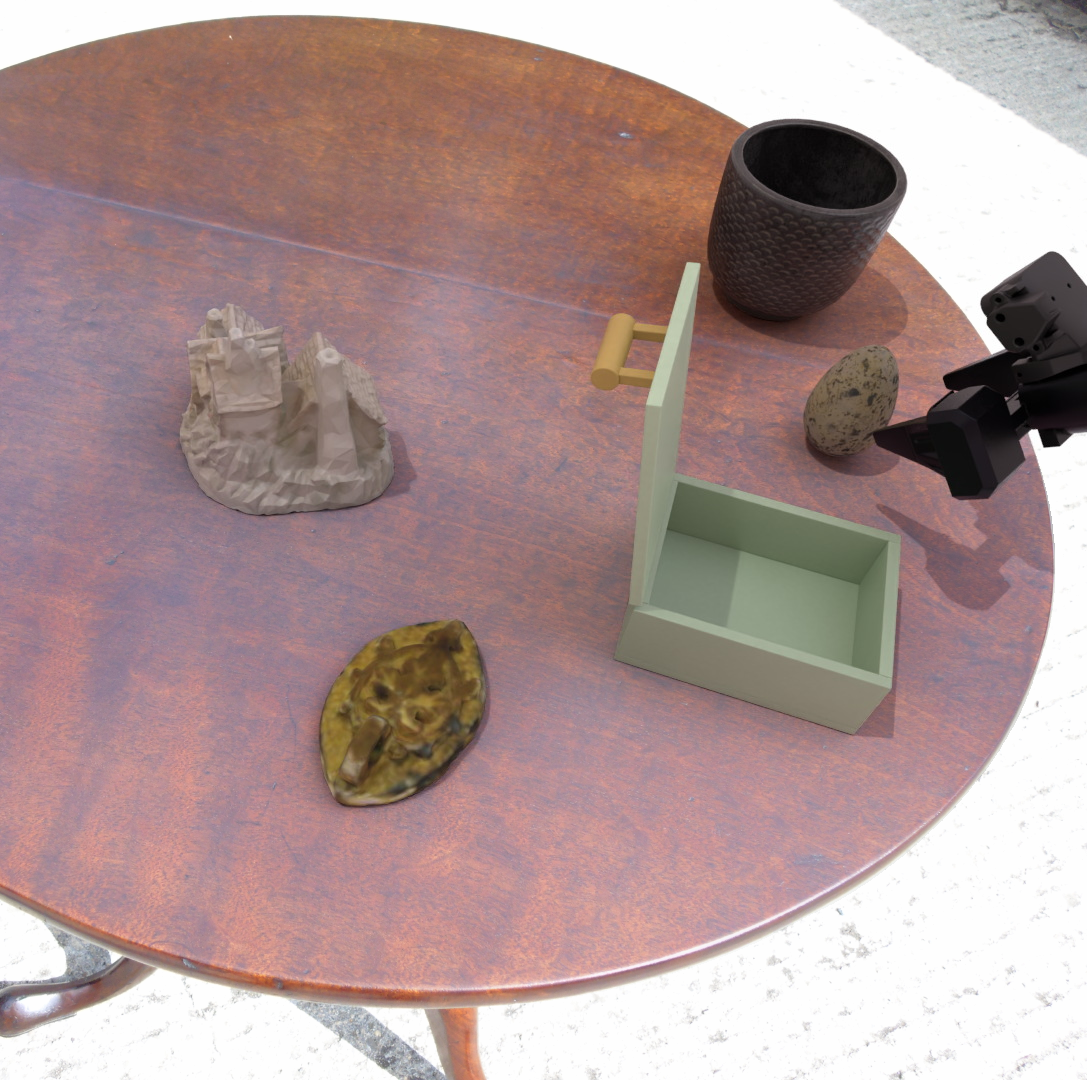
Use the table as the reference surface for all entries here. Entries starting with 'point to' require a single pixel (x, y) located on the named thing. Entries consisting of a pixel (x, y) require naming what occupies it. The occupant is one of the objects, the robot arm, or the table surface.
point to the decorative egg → (852, 401)
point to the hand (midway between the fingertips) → (911, 409)
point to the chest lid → (652, 411)
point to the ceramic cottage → (281, 421)
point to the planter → (800, 215)
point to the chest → (768, 605)
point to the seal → (401, 712)
